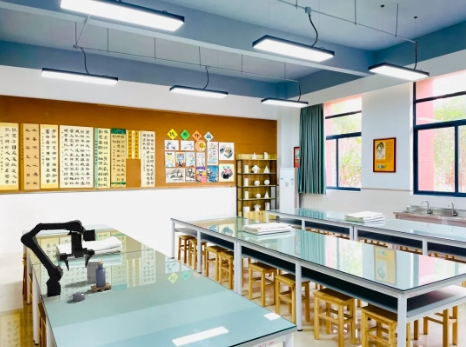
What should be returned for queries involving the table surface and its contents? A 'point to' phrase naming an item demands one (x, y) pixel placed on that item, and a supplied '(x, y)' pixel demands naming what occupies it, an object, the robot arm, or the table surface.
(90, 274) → the small box
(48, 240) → the table surface
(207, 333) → the table surface
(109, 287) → the dock
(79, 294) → the grey rounded block
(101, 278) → the ink bottle
